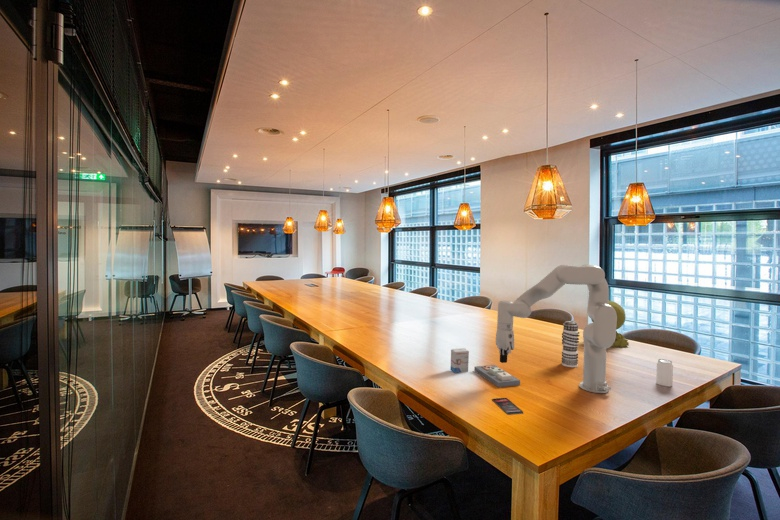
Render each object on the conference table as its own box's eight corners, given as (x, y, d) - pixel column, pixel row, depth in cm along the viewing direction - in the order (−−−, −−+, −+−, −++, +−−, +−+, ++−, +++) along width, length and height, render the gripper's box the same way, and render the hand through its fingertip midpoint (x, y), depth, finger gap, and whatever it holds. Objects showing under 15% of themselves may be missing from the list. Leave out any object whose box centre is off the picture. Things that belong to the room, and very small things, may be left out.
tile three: (495, 373, 201) (495, 368, 201) (486, 373, 200) (486, 369, 199) (490, 369, 206) (490, 365, 206) (481, 370, 205) (481, 365, 204)
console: (520, 385, 186) (520, 380, 186) (498, 387, 182) (498, 382, 182) (493, 369, 209) (494, 364, 209) (474, 370, 205) (474, 366, 205)
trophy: (582, 338, 275) (583, 297, 274) (613, 339, 274) (614, 298, 273) (598, 347, 253) (599, 303, 251) (631, 347, 252) (633, 303, 250)
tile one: (511, 380, 186) (511, 374, 186) (502, 381, 185) (502, 375, 185) (505, 376, 191) (506, 371, 191) (496, 377, 190) (496, 372, 190)
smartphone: (506, 397, 170) (524, 412, 155) (506, 399, 170) (524, 414, 155) (491, 398, 169) (507, 413, 154) (491, 400, 169) (507, 415, 154)
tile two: (503, 375, 194) (503, 369, 194) (494, 376, 192) (494, 370, 192) (497, 371, 199) (497, 366, 198) (489, 372, 197) (489, 367, 197)
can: (656, 381, 192) (657, 357, 191) (672, 384, 188) (673, 360, 187) (655, 384, 187) (656, 361, 186) (671, 388, 183) (672, 363, 182)
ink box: (454, 373, 202) (454, 351, 201) (450, 370, 206) (450, 348, 206) (468, 371, 204) (469, 350, 203) (464, 368, 209) (464, 347, 208)
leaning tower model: (580, 368, 211) (582, 324, 210) (563, 366, 213) (564, 323, 211) (576, 362, 220) (577, 320, 219) (559, 361, 222) (560, 319, 220)
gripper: (520, 329, 181) (518, 366, 182) (503, 322, 195) (501, 357, 196) (506, 329, 179) (505, 367, 180) (490, 322, 193) (488, 358, 194)
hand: (503, 362), depth 188 cm, fingers closed
